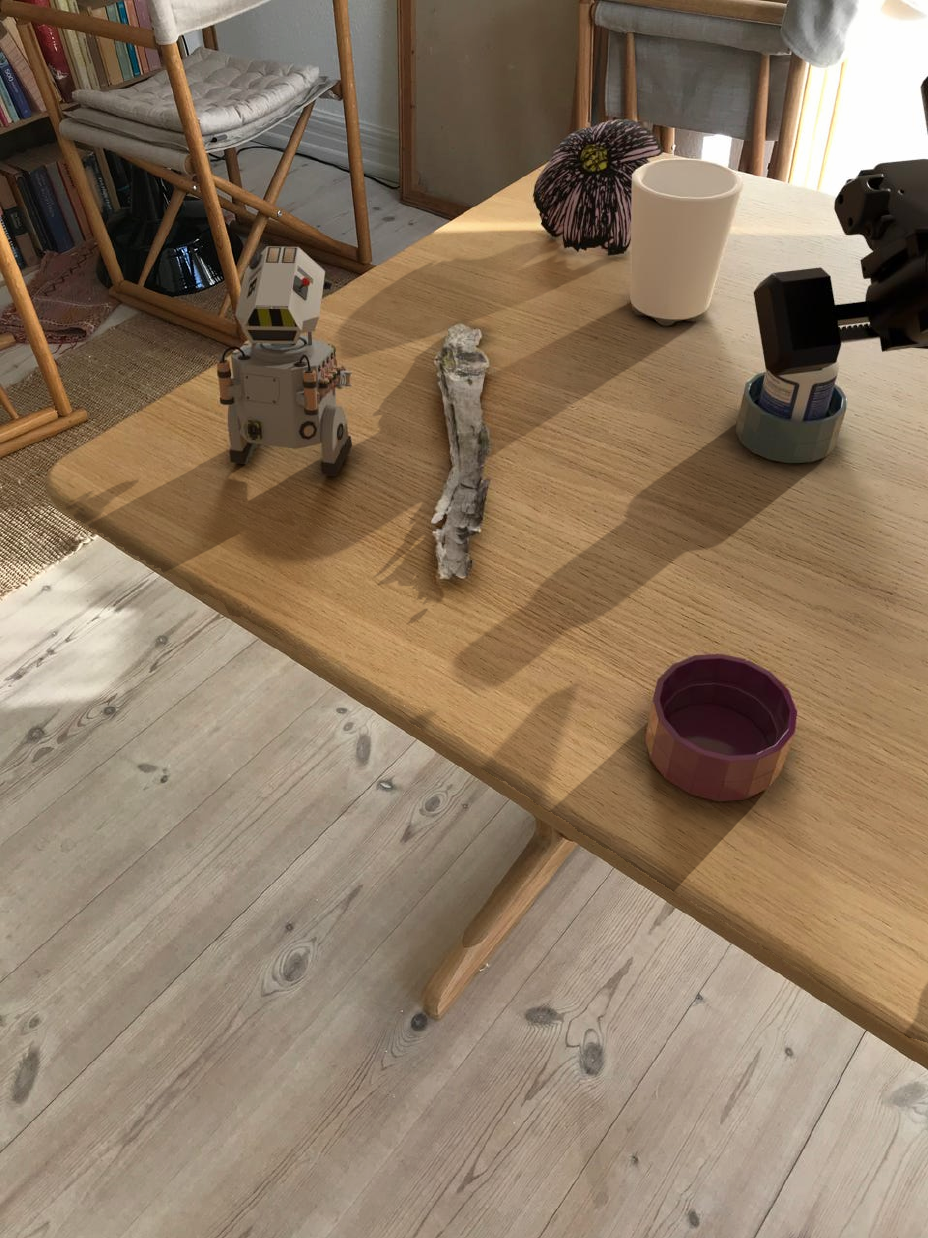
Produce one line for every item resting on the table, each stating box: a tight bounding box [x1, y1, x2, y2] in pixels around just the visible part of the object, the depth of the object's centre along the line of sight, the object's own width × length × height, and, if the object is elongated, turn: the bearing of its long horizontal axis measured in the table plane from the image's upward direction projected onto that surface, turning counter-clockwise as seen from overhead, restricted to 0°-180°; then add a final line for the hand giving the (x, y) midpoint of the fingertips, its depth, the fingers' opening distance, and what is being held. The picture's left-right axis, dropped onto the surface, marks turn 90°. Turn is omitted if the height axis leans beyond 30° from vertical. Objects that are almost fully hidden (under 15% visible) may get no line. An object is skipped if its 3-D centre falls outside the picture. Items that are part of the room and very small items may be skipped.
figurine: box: [216, 245, 353, 477], centre depth 78 cm, size 9×12×15 cm
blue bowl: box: [735, 371, 848, 464], centre depth 82 cm, size 8×8×4 cm
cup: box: [629, 157, 744, 327], centre depth 95 cm, size 10×10×13 cm
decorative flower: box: [532, 118, 665, 256], centre depth 109 cm, size 15×12×15 cm
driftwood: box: [430, 322, 491, 580], centre depth 83 cm, size 37×2×5 cm
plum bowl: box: [644, 653, 798, 802], centre depth 59 cm, size 8×8×4 cm
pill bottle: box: [758, 356, 841, 421], centre depth 80 cm, size 5×5×10 cm
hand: (832, 345), depth 74 cm, fingers open, 9 cm apart
